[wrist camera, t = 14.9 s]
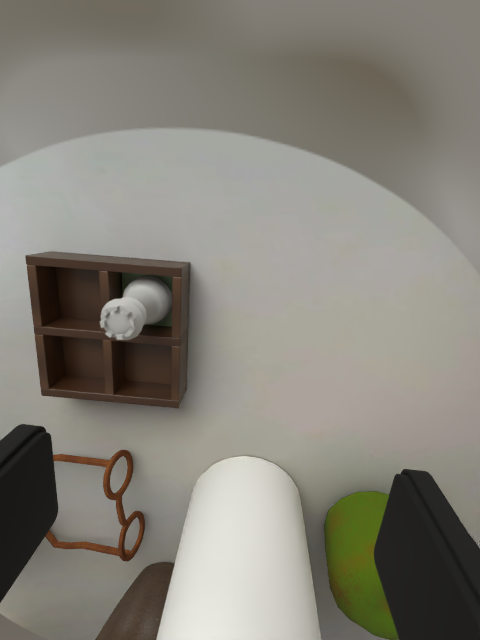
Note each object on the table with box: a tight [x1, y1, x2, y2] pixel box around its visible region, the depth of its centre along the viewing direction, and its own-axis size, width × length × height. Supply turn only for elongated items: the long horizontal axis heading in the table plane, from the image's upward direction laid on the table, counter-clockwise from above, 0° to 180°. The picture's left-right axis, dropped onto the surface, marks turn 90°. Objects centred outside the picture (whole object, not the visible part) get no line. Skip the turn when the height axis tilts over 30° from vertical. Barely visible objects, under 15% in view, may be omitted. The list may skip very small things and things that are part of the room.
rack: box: [26, 251, 190, 408], centre depth 32 cm, size 13×13×4 cm
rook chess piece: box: [100, 276, 172, 340], centre depth 28 cm, size 4×4×8 cm
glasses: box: [45, 450, 145, 561], centre depth 38 cm, size 13×13×5 cm
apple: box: [324, 491, 399, 640], centre depth 34 cm, size 11×11×11 cm
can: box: [156, 456, 321, 640], centre depth 30 cm, size 12×12×20 cm
